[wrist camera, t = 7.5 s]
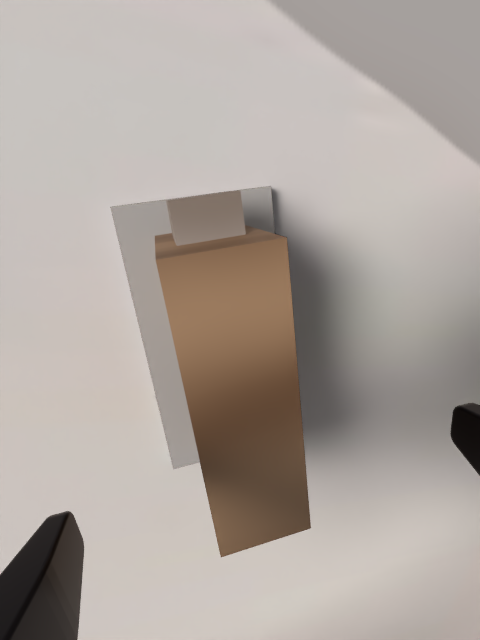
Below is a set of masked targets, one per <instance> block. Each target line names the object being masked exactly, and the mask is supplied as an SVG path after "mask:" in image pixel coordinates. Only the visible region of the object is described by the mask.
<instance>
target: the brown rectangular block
mask: <svg viewBox="0 0 480 640" xmlns="http://www.w3.org/2000/svg"><path fill="white" fill-rule="evenodd" d="M166 205H167V210H168V215H169V220H170V225H171V230H172V233H169V234H163V235H157V236H155V258H156V264H157V269H158V273H159V278H160V282H161V287H162V292H163V296H164V301H165V305H166V310H167V314H168V319H169V323H170V328H171V332H172V337H173V342H174V346H175V351H176V355H177V360H178V364H179V369H180V373H181V378H182V382H183V387H184V392H185V396H186V401H187V405H188V410H189V414H190V419H191V423H192V428H193V432H194V437H195V442H196V446H197V451H198V455H199V460H200V464H201V469H202V473H203V478H204V482H205V487H206V492H207V496H208V501H209V505H210V510H211V514H212V519H213V523H214V528H215V532H216V537H217V542H218V546H219V551H220V555H221V557H223V556H227V555H230V554H233V553H236V552H239V551H242V550H245V549H248V548H251V547H254V546H257V545H260V544H264V543H267V542H270V541H273V540H276V539H279V538H282V537H285V536H288V535H291V534H294V533H297V532H301V531H304V530H307V529H310V528H311V525H310V513H309V501H308V489H307V477H306V464H305V452H304V440H303V428H302V416H301V404H300V392H299V379H298V367H297V355H296V343H295V331H294V319H293V307H292V295H291V282H290V270H289V258H288V246H287V237H283V236H280V235H277V234H273V233H270V232H267V231H264V230H260V229H257V228H254V227H250V226H247V225H245V223H244V215H243V207H242V199H241V191H227V192H220V193H213V194H206V195H199V196H192V197H185V198H178V199H171V200H166Z"/></svg>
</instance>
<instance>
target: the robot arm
mask: <svg viewBox="0 0 480 640" xmlns="http://www.w3.org/2000/svg"><path fill="white" fill-rule="evenodd" d="M451 438H452V440H453V442H454V444H455V445H456V447H457V448H458V449H459V450H460V452H461V453H462V454H463V455H464V457H465V458H466V459H467V460H468V462H469V463H470V464H471V465H472V467H473V468H474V469H475V470H476V472H477V473H478V474H479V475H480V405H478V404H474V403H467V404H463V405H460V406H457V407H455V408H454V410H453V416H452V424H451ZM83 558H84V542H83V538H82V535H81V533H80V530H79V528H78V525H77V523H76V520H75V518H74V515H73V514H72V513H71V512H70V511H66V512H62V513H59V514H55V515H51V516H49V517H48V518H47V519H46V520H45V521H44V522H43V523H42V525H41V526H40V527H39V528H38V529H37V531H36V532H35V533H34V534H33V536H32V537H31V538H30V539H29V540H28V542H27V543H26V544H25V545H24V546H23V548H22V549H21V550H20V551H19V553H18V554H17V555H16V556H15V557H14V559H13V560H12V561H11V562H10V563H9V565H8V566H7V567H6V568H5V570H4V571H3V572H2V573H1V574H0V640H77V638H78V627H79V614H80V600H81V586H82V572H83Z"/></svg>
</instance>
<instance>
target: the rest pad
mask: <svg viewBox="0 0 480 640" xmlns="http://www.w3.org/2000/svg"><path fill="white" fill-rule="evenodd" d="M237 191H241V199H242V207H243V215H244V223H245V225H247V226H250V227H254V228H257V229H260V230H264V231H267V232H270V233H273V234H275V229H274V217H273V205H272V193H271V186H268V187H260V188H252V189H244V190H237ZM198 196H199V195H198ZM191 197H192V196H191ZM183 198H185V197H183ZM175 199H178V198H175ZM168 200H171V199H168ZM110 208H111V212H112V216H113V220H114V224H115V228H116V232H117V237H118V241H119V245H120V249H121V253H122V257H123V262H124V266H125V270H126V274H127V278H128V282H129V286H130V291H131V295H132V299H133V303H134V307H135V311H136V316H137V320H138V324H139V328H140V332H141V336H142V341H143V345H144V349H145V353H146V357H147V361H148V365H149V370H150V374H151V378H152V382H153V386H154V390H155V395H156V399H157V403H158V407H159V411H160V415H161V420H162V424H163V428H164V432H165V436H166V440H167V444H168V449H169V453H170V457H171V461H172V465H173V469H176V468H180V467H184V466H187V465H191V464H195V463H199V462H200V460H199V455H198V451H197V446H196V442H195V437H194V432H193V428H192V423H191V419H190V414H189V410H188V405H187V401H186V396H185V392H184V387H183V382H182V378H181V373H180V369H179V364H178V360H177V355H176V351H175V346H174V342H173V337H172V332H171V328H170V323H169V319H168V314H167V310H166V305H165V301H164V296H163V292H162V287H161V282H160V278H159V273H158V269H157V264H156V258H155V236H157V235H163V234H169V233H172V230H171V225H170V220H169V215H168V210H167V205H166V200H160V201H152V202H145V203H137V204H129V205H122V206H114V207H110Z"/></svg>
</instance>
